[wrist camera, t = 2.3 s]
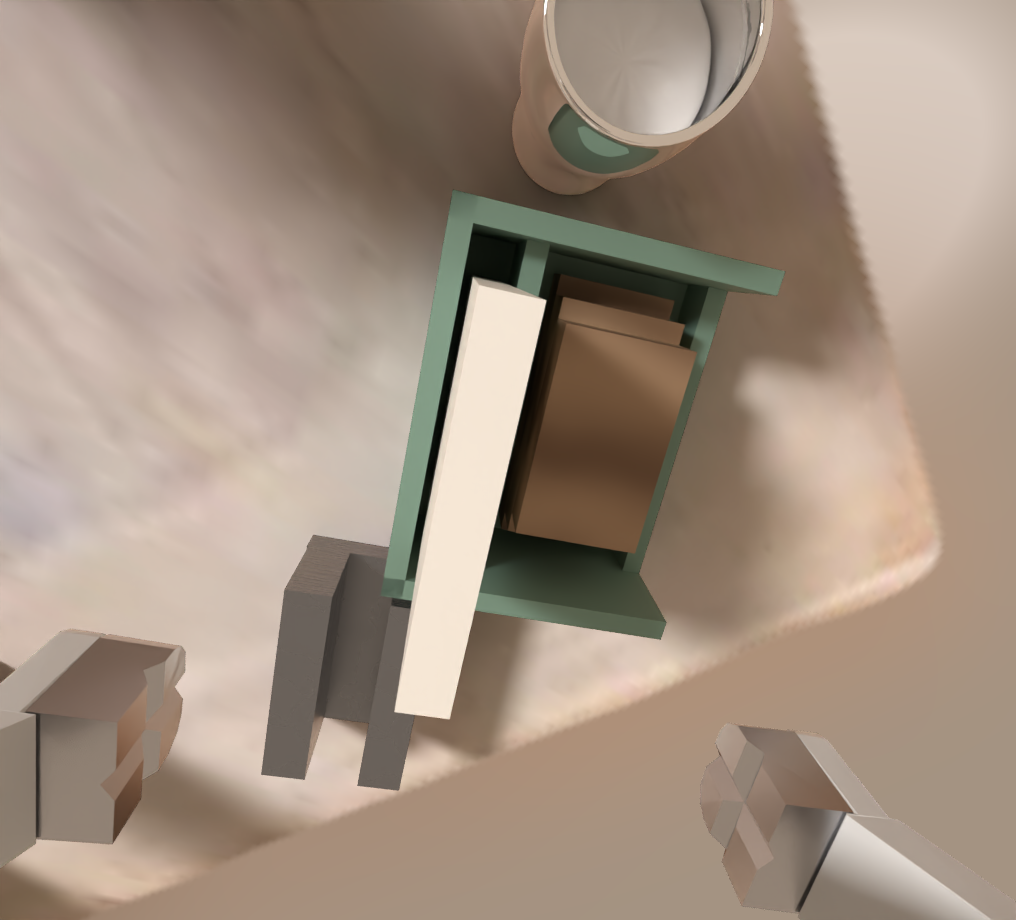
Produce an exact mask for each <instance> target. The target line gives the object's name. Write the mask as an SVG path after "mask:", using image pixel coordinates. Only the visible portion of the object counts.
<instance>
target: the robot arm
mask: <svg viewBox="0 0 1016 920" xmlns="http://www.w3.org/2000/svg"><path fill="white" fill-rule="evenodd" d="M185 657H186V652H185V650H184V649H183V647H182V646H179V645H172V644H166V643H160V642H154V641H148V640H141V639H135V638H129V637H123V636H117V635H111V634H108V635H106V634H103V633H96V632H89V631H82V630H76V629H68V630H64V631H60V632H59V633H57V634H56V635H55V636H54V637H53V638H52V639H50V640H49V641H48V642H47V643H46V644H45V645H44V646H42V647H41V648H40V649H39V650H38V651H37V652H36V653H34V654H33V655H32V656H31V657H30V658H29V659H28V660H26V661H25V662H24V663H23V664H22V665H21V666H20V667H18V668H17V669H16V670H15V671H14V672H13V673H12V674H10V675H9V676H8V677H7V678H6V679H5V680H3V681H2V682H1V683H0V868H1V867H3V866H4V865H6V864H7V863H9V862H10V861H11V860H13V859H14V858H16V857H17V856H19V855H20V854H22V853H23V852H24V851H26V850H27V849H29V848H30V847H32V846H33V845H34V844H36V839H42V840H57V841H71V842H86V843H100V844H113V843H114V841H115V839H116V838H117V836H118V835H119V833H120V832H121V830H122V828H123V827H124V825H125V824H126V822H127V820H128V819H129V817H130V816H131V814H132V812H133V811H134V809H135V808H136V806H137V804H138V803H139V801H140V800H141V792H142V780H143V779H145V778H147V777H149V776H150V775H152V774H154V773H155V772H157V771H158V770H159V769H160V767H161V765H162V764H163V762H164V760H165V759H166V757H167V755H168V754H169V751H170V749H171V746H172V744H173V741H174V739H175V736H176V734H177V731H178V727H179V722H180V718H181V713H182V702H183V698H182V697H181V695H180V694H179V693H178V691H177V690H176V688H175V686H176V684H177V683H178V681H179V680H180V678H181V677H182V676H183V674H184V673H185ZM715 744H716V747H717V749H718V752H719V755H720V756H719V757H718V758H717V759H715V760H714V761H713V762H711V763H710V764H709V765H708V766H707V767H706V769H705V772H704V775H703V778H702V781H701V787H700V805H701V809H702V814H703V819H704V821H705V823H706V826H707V828H708V831H709V833H710V834H711V835H712V836H713V837H714V838H715V839H716V840H717V841H718V842H720V844H721V845H722V846H723V847H724V848H725V852H724V856H723V859H722V863H723V865H724V867H725V870H726V872H727V874H728V876H729V879H730V881H731V883H732V885H733V888H734V890H735V892H736V894H737V897H738V899H739V901H740V903H741V906H743V907H751V908H759V909H767V910H774V911H781V912H790V913H797V914H799V915H798V918H799V919H800V920H1016V901H1014V900H1013V899H1012V898H1010V897H1009V896H1007V895H1006V894H1004V893H1003V892H1002V891H1000V890H999V889H997V888H996V887H994V886H993V885H991V884H990V883H989V882H987V881H986V880H984V879H983V878H982V877H980V876H979V875H977V874H976V873H974V872H973V871H971V870H970V869H969V868H967V867H966V866H964V865H963V864H961V863H960V862H958V861H957V860H956V859H954V858H953V857H951V856H950V855H949V854H947V853H946V852H944V851H943V850H941V849H940V848H939V847H937V846H936V845H934V844H933V843H931V842H930V841H928V840H927V839H926V838H924V837H923V836H921V835H920V834H918V833H917V832H916V831H914V830H913V829H911V828H910V827H908V826H907V825H906V824H904V823H903V822H901V821H900V820H896V819H889V818H888V816H887V815H886V814H885V812H884V811H883V810H882V809H881V807H880V806H879V805H878V803H877V802H876V801H875V800H874V798H873V797H872V796H871V794H870V793H869V792H868V791H867V790H866V788H865V787H864V786H863V784H862V783H861V782H860V781H859V779H858V778H857V777H856V775H855V774H854V773H853V772H852V770H851V769H850V768H849V767H848V765H847V764H846V763H845V761H844V760H843V759H842V758H841V756H840V755H839V754H838V753H837V751H836V750H835V749H834V748H833V746H832V745H831V744H830V742H829V741H828V740H827V739H826V738H824V737H823V736H821V735H820V734H818V733H814V732H805V731H796V730H786V731H785V730H778V729H771V728H762V727H756V726H748V725H740V724H733V723H727V724H726V725H725V726H724V727H723V728H722V729H721V731H720V732H719V735H718V737H717V740H716V742H715Z"/></svg>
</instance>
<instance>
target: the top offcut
mask: <svg viewBox="0 0 1016 920" xmlns="http://www.w3.org/2000/svg"><path fill="white" fill-rule="evenodd" d="M696 355H697V352H695V351H692V350H690V349H687V348H684V347H682V346H679V345H675V344H670V343H666V342H661V341H657V340H652V339H648V338H643V337H639V336H634V335H630V334H625V333H621V332H616V331H612V330H607V329H603V328H599V327H594V326H590V325H585V324H581V323H576V322H572V321H567V320H563V319H558V322H557V327H556V331H555V335H554V339H553V343H552V348H551V352H550V356H549V360H548V364H547V368H546V373H545V377H544V381H543V385H542V389H541V394H540V398H539V402H538V406H537V410H536V414H535V419H534V423H533V427H532V431H531V435H530V440H529V444H528V448H527V452H526V456H525V461H524V465H523V469H522V473H521V477H520V481H519V486H518V490H517V494H516V498H515V502H514V507H513V511H512V516H513V522H514V527H515V532H516V533H520V534H525V535H531V536H537V537H543V538H548V539H554V540H560V541H566V542H571V543H577V544H583V545H588V546H594V547H600V548H606V549H611V550H617V551H623V552H629V553H634V554H635V552H636V548H637V545H638V542H639V539H640V536H641V532H642V529H643V526H644V523H645V519H646V516H647V513H648V510H649V506H650V503H651V500H652V497H653V494H654V490H655V487H656V484H657V481H658V477H659V474H660V471H661V468H662V464H663V461H664V458H665V455H666V452H667V448H668V445H669V442H670V439H671V435H672V432H673V429H674V426H675V422H676V419H677V416H678V413H679V409H680V406H681V403H682V400H683V397H684V393H685V390H686V387H687V384H688V380H689V377H690V374H691V371H692V367H693V364H694V361H695V358H696Z"/></svg>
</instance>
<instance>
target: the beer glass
mask: <svg viewBox="0 0 1016 920" xmlns="http://www.w3.org/2000/svg"><path fill="white" fill-rule="evenodd" d="M773 5H774V0H535V3H534V6H533V9H532V12H531V14H530V17H529V20H528V24H527V27H526V31H525V36H524V42H523V48H522V54H521V61H520V87H521V95H520V97H519V99H518V102H517V104H516V107H515V110H514V115H513V121H512V139H513V145H514V149H515V152H516V155H517V158H518V160H519V162H520V164H521V166H522V167H523V169H524V170H525V172H526V173H527V174H528V176H529V177H530V178H531V179H532V180H533V181H534V182H536V183H537V184H538V185H540V186H541V187H543V188H544V189H546V190H549V191H551V192H554V193H557V194H563V195H577V194H582V193H586V192H589V191H591V190H593V189H595V188H597V187H599V186H600V185H602V184H603V183H604V182H606V181H607V180H608V179H617V178H624V177H629V176H633V175H636V174H639V173H641V172H644V171H646V170H649V169H651V168H654V167H656V166H658V165H660V164H662V163H664V162H665V161H667V160H668V159H670V158H672V157H673V156H675V155H676V154H678V153H679V152H681V151H682V150H684V149H685V148H686V147H688V146H689V145H690V144H691V143H693V142H694V141H695V140H696V139H698V138H699V137H700V136H701V135H702V134H703V133H705V132H706V131H708V130H709V129H711V128H712V127H713V126H715V125H716V124H717V123H719V122H720V121H721V120H722V119H723V118H725V117H726V116H727V115H728V114H729V113H730V112H731V111H732V110H733V108H734V107H735V106H736V105H737V104H738V103H739V101H740V100H741V99H742V97H743V96H744V95H745V93H746V92H747V90H748V89H749V87H750V85H751V84H752V82H753V80H754V78H755V77H756V75H757V73H758V70H759V68H760V66H761V63H762V61H763V58H764V55H765V52H766V49H767V46H768V42H769V38H770V33H771V27H772V20H773Z"/></svg>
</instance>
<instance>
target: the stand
mask: <svg viewBox="0 0 1016 920" xmlns="http://www.w3.org/2000/svg"><path fill="white" fill-rule="evenodd" d="M388 551H389V548H388V547H382V546H376V545H370V544H364V543H358V542H352V541H346V540H340V539H334V538H328V537H322V536H316V535H313V536H312V538H311V540H310V542H309V543H308V545H307V550H306V552H305V554H304V556H303V557H302V559H301V561H300V563H299V565H298V566H297V568H296V570H295V572H294V574H293V575H292V577H291V579H290V581H289V582H288V584H287V586H286V588H285V590H284V598H283V606H282V614H281V622H280V630H279V638H278V646H277V654H276V662H275V670H274V678H273V686H272V694H271V702H270V710H269V717H268V725H267V733H266V741H265V749H264V757H263V765H262V773H261V775H269V776H277V777H286V778H295V779H303V780H305V776H306V773H307V770H308V767H309V764H310V760H311V757H312V754H313V751H314V748H315V745H316V741H317V738H318V735H319V732H320V729H321V725H322V722H323V719H324V717H325V718H333V719H341V720H348V721H356V722H364V723H369V726H368V731H367V736H366V742H365V747H364V753H363V758H362V763H361V769H360V774H359V780H358V785H357V786H364V787H373V788H381V789H390V790H399V788H400V783H401V778H402V773H403V768H404V764H405V759H406V754H407V749H408V745H409V740H410V735H411V730H412V726H413V721H414V716H415V715H413V714H405V713H398V712H394V711H395V705H396V698H397V692H398V686H399V680H400V673H401V667H402V661H403V654H404V648H405V642H406V636H407V629H408V623H409V617H410V611H411V604H412V601H410V600H404V599H398V598H391V597H385V596H381V590H382V585H383V579H384V574H385V568H386V562H387V557H388Z"/></svg>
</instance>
